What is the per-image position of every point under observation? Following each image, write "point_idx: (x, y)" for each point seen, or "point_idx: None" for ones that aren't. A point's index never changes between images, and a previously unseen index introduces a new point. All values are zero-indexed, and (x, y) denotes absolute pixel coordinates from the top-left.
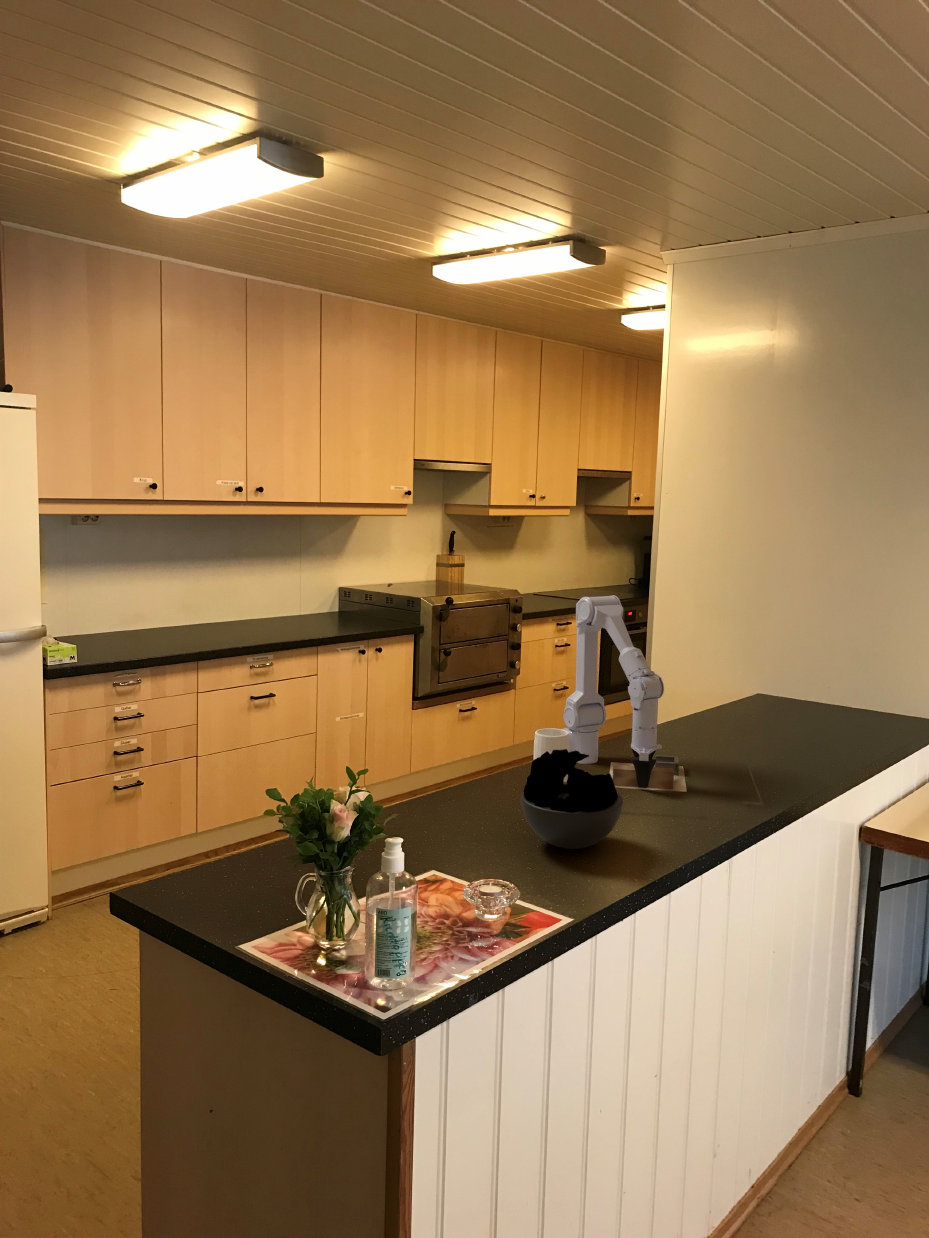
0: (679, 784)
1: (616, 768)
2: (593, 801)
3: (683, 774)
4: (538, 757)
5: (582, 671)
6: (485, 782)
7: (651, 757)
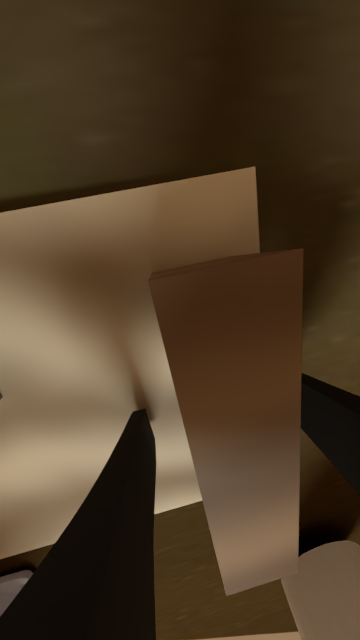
0: (126, 234)
1: (287, 566)
2: None
3: None
4: None
5: None
6: (276, 627)
7: (109, 578)
